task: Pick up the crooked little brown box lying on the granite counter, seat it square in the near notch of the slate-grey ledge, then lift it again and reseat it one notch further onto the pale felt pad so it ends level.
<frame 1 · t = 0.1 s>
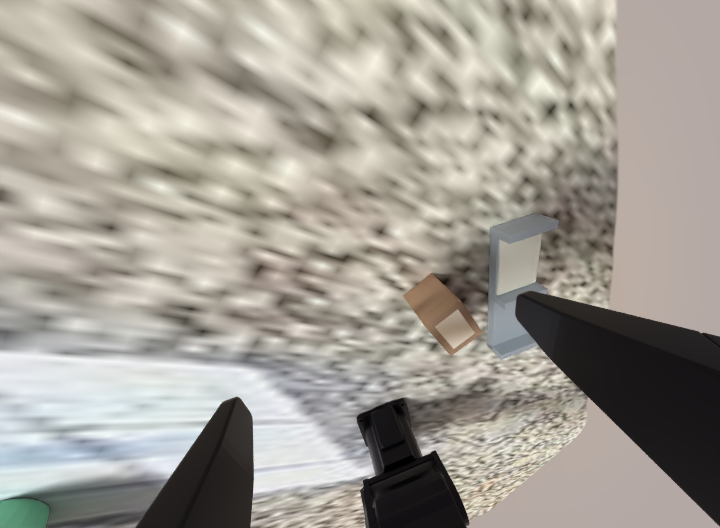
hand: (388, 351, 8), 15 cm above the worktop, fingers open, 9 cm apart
brown box: (428, 298, 27), on the worktop
ledge: (508, 287, 29), on the worktop
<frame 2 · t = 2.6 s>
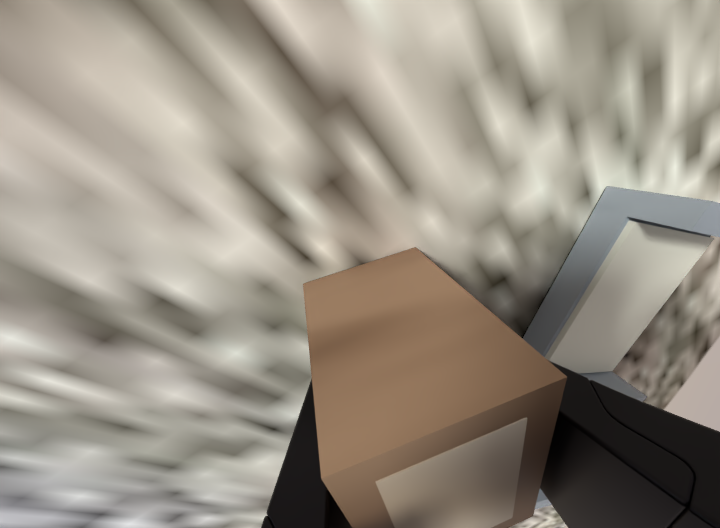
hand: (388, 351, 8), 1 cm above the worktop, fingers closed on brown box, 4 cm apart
brown box: (376, 326, 9), on the worktop, touching gripper
ledge: (548, 361, 13), on the worktop
when the fingers open (3 cm above the worktop, at t = 5.5 s): brown box drops 1 cm, resting on ledge.
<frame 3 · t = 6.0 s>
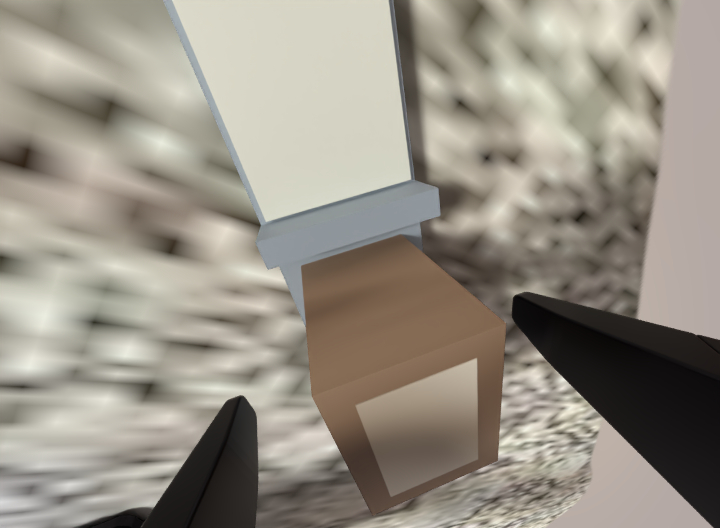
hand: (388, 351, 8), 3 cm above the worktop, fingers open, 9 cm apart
brown box: (367, 306, 10), point 1 cm above the worktop, touching ledge
ledge: (338, 206, 9), on the worktop
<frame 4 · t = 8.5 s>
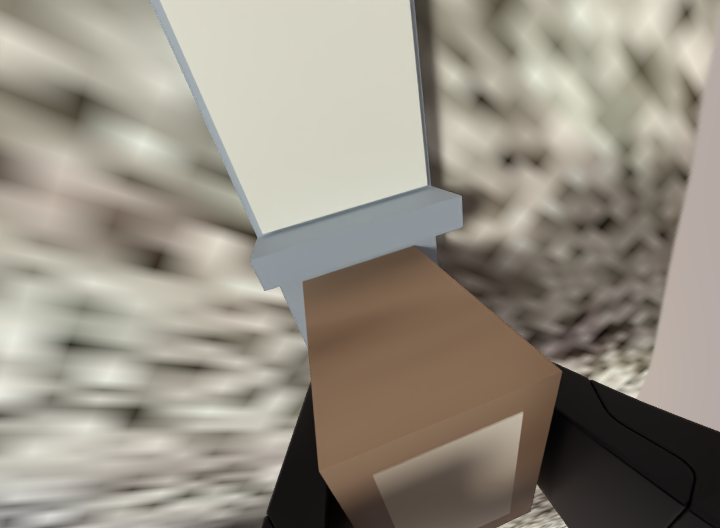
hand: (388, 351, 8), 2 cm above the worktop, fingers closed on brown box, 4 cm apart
brown box: (375, 323, 9), point 1 cm above the worktop, touching gripper, ledge
ledge: (344, 215, 8), on the worktop
when the fingers open (4 cm above the worktop, at t = 11.5 s): brown box drops 1 cm, resting on ledge.
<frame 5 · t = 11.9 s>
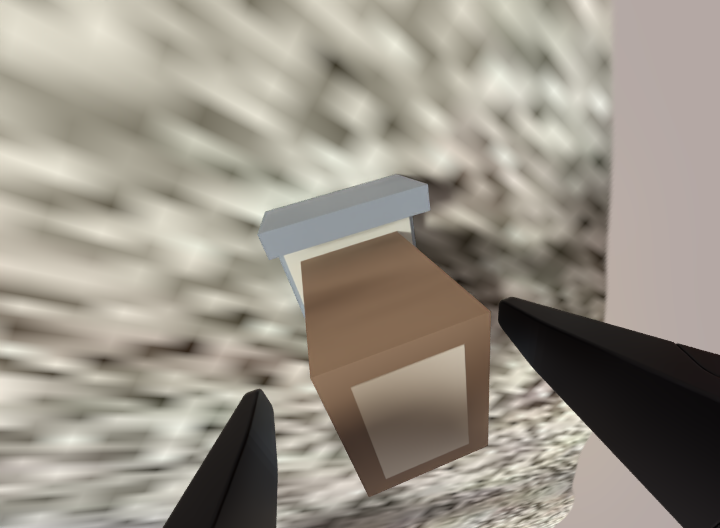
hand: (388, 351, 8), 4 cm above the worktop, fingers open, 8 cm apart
brown box: (364, 301, 10), point 1 cm above the worktop, touching ledge
ledge: (374, 346, 13), on the worktop
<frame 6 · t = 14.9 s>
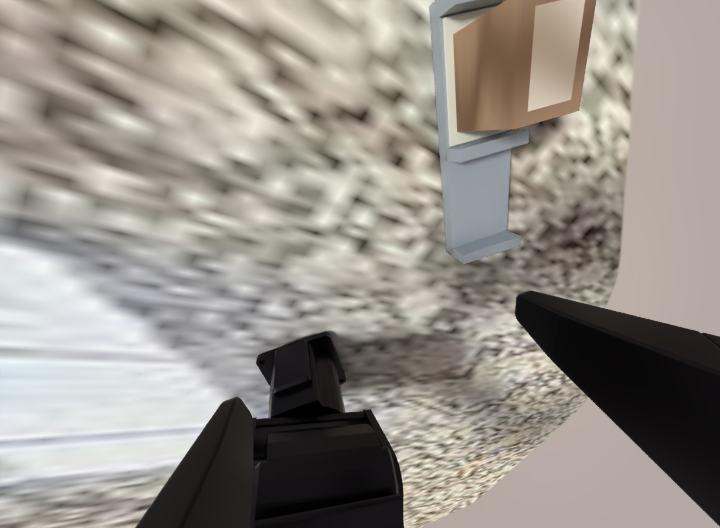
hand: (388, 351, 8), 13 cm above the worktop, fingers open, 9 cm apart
brown box: (481, 80, 16), point 1 cm above the worktop, touching ledge
ledge: (471, 145, 19), on the worktop
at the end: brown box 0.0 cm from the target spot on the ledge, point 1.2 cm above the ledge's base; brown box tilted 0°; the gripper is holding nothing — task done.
